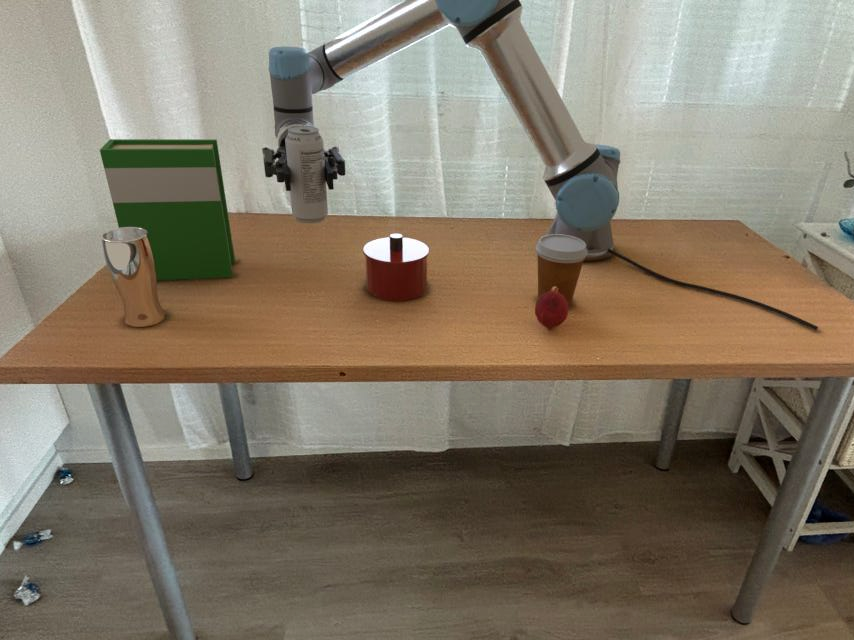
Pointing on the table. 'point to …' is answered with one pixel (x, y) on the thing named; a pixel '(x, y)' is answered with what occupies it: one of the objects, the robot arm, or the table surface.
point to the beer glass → (134, 274)
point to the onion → (551, 308)
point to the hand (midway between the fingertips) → (309, 181)
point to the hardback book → (173, 202)
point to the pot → (396, 280)
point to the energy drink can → (307, 174)
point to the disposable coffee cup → (559, 263)
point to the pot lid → (396, 250)
